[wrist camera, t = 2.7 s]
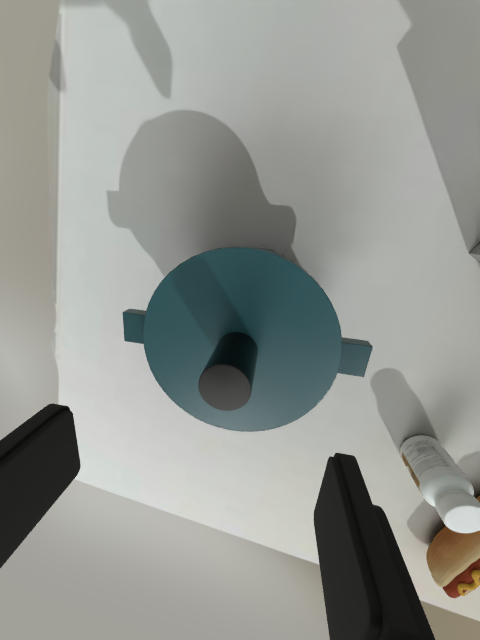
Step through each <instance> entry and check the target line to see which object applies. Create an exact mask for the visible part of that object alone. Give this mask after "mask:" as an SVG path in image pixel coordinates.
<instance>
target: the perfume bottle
mask: <svg viewBox="0 0 480 640" xmlns="http://www.w3.org/2000/svg"><path fill="white" fill-rule="evenodd" d="M469 254H470V255H472V256H473V257H474V258H475V259H477V260H478V261H479V262H480V243H479V244H478V245H477V246H476V247H475V248H474V249H473V250H472V251H471V252H470V253H469Z"/></svg>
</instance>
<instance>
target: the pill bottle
mask: <svg viewBox="0 0 480 640" xmlns="http://www.w3.org/2000/svg"><path fill="white" fill-rule="evenodd" d="M400 455H401V458H402V460H403V461H404V463H405V465H406V467H407V469H408V470H409V472H410V474H411V476H412V478H413V479H414V481H415V483H416V485H417V487H418V488H419V490H420V492H421V494H422V496H423V497H424V499H425V500H426V501H427V502H428V503H429V504H430V505H432V506H434V507H435V508H436V510H437V512H438V514H439V515H440V517H441V519H442V520H443V522H444V524H445V525H446V526H447V527H448V528H449V529H451V530H452V531H455V532H459V533H473V532H477V531H479V530H480V502H479V501H478V500H477V499H476V498H475V497H474V496H473V495H474V489H473V486H472V484H471V483H470V481H469V480H468V478H467V477H466V476H465V474H464V473H463V472H462V471H461V469H460V468H459V467H458V465H457V464H456V463H455V462H454V460H453V459H452V458H451V456H450V455H449V454H448V452H447V451H446V450H445V449H444V447H443V446H442V445H441V444H440V442H439V441H437V440H436V439H434V438H432V437H429V436H425V435H418V436H413V437H411V438H409V439H407V440H406V441H405V442H404V443H403V444H402V446H401V448H400Z"/></svg>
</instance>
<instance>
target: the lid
mask: <svg viewBox="0 0 480 640" xmlns="http://www.w3.org/2000/svg"><path fill="white" fill-rule="evenodd" d="M143 340H144V349H145V353H146V357H147V361H148V363H149V366H150V369H151V371H152V373H153V375H154V377H155V379H156V381H157V382H158V383H159V385H160V386H161V388H162V389H163V391H164V392H165V393H166V394H167V395H168V396H169V398H170V399H171V400H172V401H174V402H175V403H176V404H177V405H178V406H179V407H180V408H182V409H183V410H184V411H186V412H187V413H189V414H190V415H192V416H194V417H195V418H197V419H199V420H201V421H203V422H205V423H208V424H210V425H213V426H216V427H219V428H224V429H228V430H234V431H250V432H253V431H264V430H269V429H274V428H277V427H281V426H284V425H287V424H289V423H291V422H293V421H295V420H297V419H299V418H300V417H302V416H303V415H305V414H307V413H308V412H309V411H310V410H312V409H313V408H314V407H315V406H316V405H317V404H318V403H319V402H320V401H321V400H322V399H323V398H324V396H325V395H326V393H327V392H328V390H329V389H330V387H331V385H332V383H333V381H334V379H335V378H336V375H337V372H338V369H339V366H340V360H341V354H342V337H341V329H340V325H339V321H338V318H337V314H336V312H335V310H334V308H333V306H332V303H331V301H330V300H329V298H328V297H327V295H326V294H325V292H324V290H323V289H322V288H321V287H320V286H319V285H318V283H317V282H316V281H315V280H314V279H313V278H312V277H311V276H310V275H309V274H308V273H307V272H305V271H304V270H303V269H302V268H300V267H299V266H297V265H296V264H294V263H293V262H291V261H290V260H288V259H285V258H283V257H281V256H279V255H277V254H274V253H271V252H268V251H265V250H260V249H255V248H249V247H228V248H219V249H215V250H211V251H207V252H204V253H201V254H199V255H196V256H194V257H191V258H190V259H188V260H186V261H185V262H183V263H181V264H180V265H178V266H177V267H176V268H175V269H173V270H172V271H171V272H170V273H169V274H168V275H167V276H166V277H165V278H164V279H163V280H162V281H161V283H160V284H159V286H158V287H157V289H156V290H155V292H154V294H153V296H152V298H151V300H150V302H149V304H148V308H147V311H146V314H145V320H144V326H143Z"/></svg>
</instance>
